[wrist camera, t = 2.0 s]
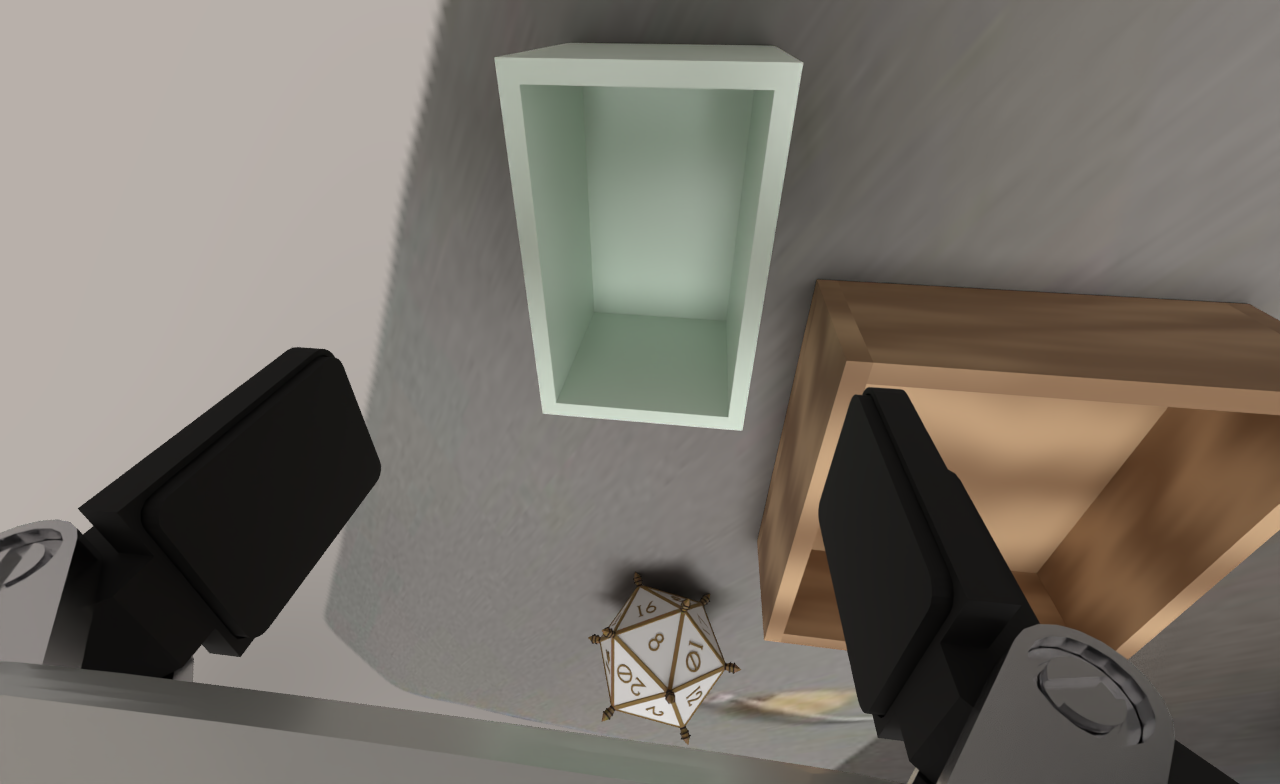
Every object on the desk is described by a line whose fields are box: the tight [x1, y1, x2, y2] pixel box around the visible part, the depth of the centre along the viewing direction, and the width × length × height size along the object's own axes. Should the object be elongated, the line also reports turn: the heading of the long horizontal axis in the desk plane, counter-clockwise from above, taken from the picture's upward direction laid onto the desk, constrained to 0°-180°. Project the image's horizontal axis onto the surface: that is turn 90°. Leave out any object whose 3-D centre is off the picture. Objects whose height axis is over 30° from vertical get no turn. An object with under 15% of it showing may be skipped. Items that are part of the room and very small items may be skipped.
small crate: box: [494, 43, 803, 431], centre depth 17 cm, size 10×7×7 cm, turn 0°
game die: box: [588, 572, 741, 744], centre depth 32 cm, size 9×8×10 cm
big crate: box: [757, 279, 1280, 659], centre depth 22 cm, size 17×16×6 cm
